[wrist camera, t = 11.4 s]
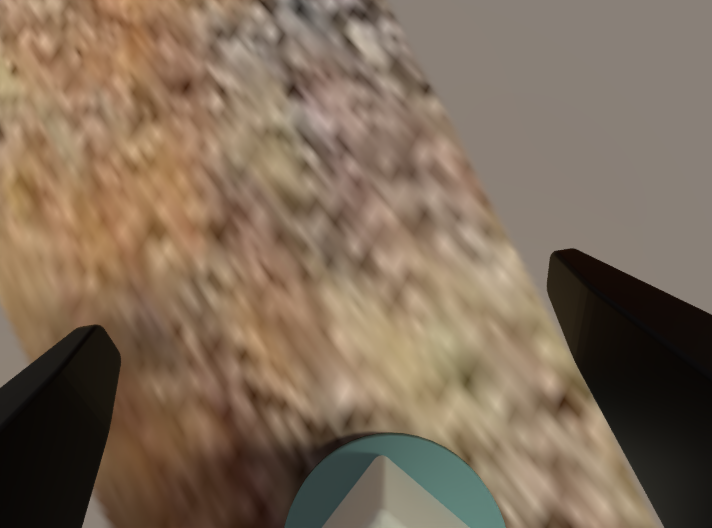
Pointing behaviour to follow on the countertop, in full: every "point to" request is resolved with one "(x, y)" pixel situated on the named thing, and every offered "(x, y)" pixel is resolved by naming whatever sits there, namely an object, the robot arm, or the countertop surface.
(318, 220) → the countertop surface
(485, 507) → the coaster
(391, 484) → the medicine bottle
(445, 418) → the countertop surface
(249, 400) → the countertop surface
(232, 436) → the countertop surface
